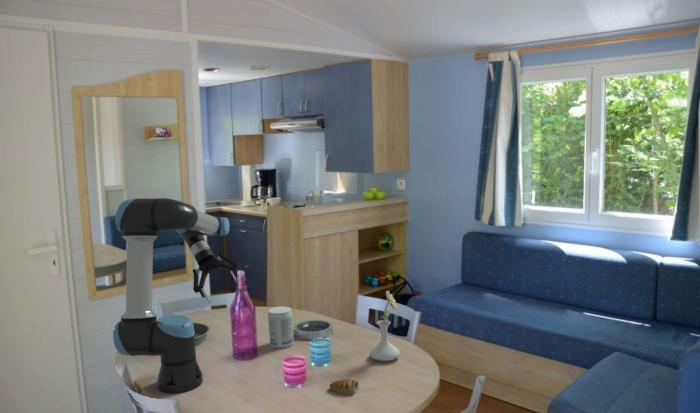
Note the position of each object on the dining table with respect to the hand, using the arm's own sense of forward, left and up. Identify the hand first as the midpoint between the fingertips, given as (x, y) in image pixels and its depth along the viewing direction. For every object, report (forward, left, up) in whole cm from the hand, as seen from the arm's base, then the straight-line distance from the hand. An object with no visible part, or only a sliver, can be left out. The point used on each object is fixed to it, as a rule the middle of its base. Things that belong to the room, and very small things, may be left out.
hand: (224, 293), depth 234 cm
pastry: (-68, -15, -21) cm, 73 cm away
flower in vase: (-54, -42, -21) cm, 71 cm away
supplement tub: (-17, -17, -21) cm, 32 cm away
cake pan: (+14, +15, -21) cm, 30 cm away
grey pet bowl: (-13, -34, -21) cm, 42 cm away
